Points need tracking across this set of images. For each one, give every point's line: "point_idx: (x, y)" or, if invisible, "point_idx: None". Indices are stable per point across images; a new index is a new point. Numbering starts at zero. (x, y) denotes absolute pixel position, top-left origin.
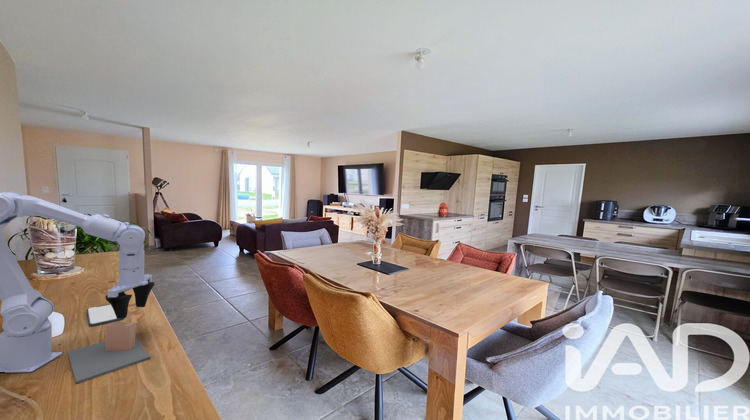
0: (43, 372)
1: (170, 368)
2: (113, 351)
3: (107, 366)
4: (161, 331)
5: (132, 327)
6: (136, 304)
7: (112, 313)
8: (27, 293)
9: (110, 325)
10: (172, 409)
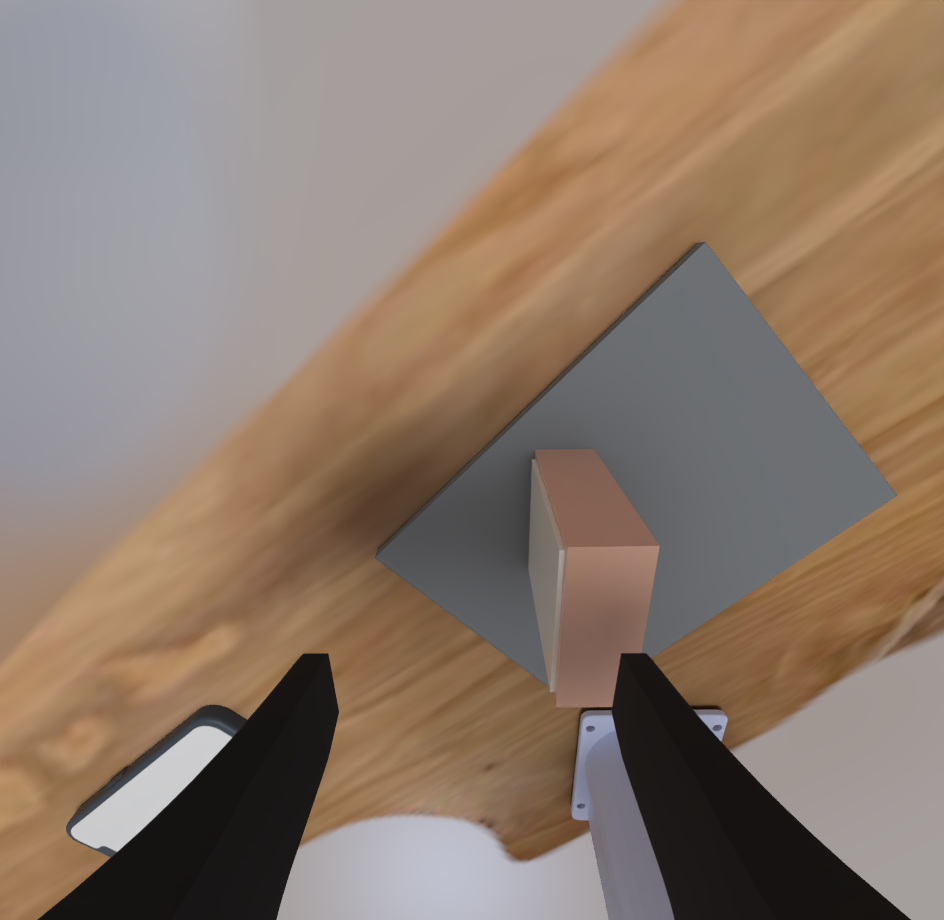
0: (728, 673)
1: None
2: None
3: (776, 444)
4: (304, 412)
5: (600, 525)
6: (328, 744)
7: (184, 781)
8: None
9: None
10: None
